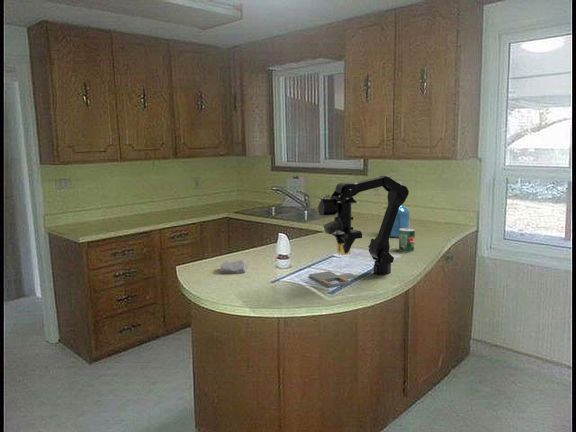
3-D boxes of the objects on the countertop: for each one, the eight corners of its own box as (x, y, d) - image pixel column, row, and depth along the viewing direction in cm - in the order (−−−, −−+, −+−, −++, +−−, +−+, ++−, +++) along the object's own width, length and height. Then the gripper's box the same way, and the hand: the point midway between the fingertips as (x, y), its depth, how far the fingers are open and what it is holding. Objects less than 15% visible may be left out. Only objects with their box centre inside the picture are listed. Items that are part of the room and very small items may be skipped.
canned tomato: (414, 252, 240) (415, 231, 238) (399, 251, 241) (399, 230, 239) (414, 248, 247) (414, 228, 245) (398, 248, 249) (399, 227, 247)
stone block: (246, 277, 207) (247, 267, 217) (245, 267, 206) (246, 257, 215) (219, 279, 207) (221, 268, 216) (218, 269, 205) (220, 259, 215)
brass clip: (345, 252, 195) (345, 242, 194) (350, 254, 191) (350, 244, 190) (336, 253, 193) (337, 243, 192) (341, 255, 189) (341, 245, 189)
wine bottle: (412, 238, 274) (413, 186, 269) (389, 238, 274) (389, 186, 269) (406, 233, 287) (407, 184, 283) (384, 233, 288) (385, 184, 283)
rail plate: (329, 275, 201) (329, 270, 200) (350, 286, 186) (350, 281, 185) (308, 278, 197) (308, 273, 196) (328, 290, 181) (328, 284, 181)
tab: (350, 275, 201) (350, 272, 201) (359, 279, 195) (359, 277, 194) (337, 277, 198) (337, 274, 198) (346, 281, 192) (346, 279, 192)
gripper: (315, 212, 195) (315, 249, 197) (338, 219, 178) (337, 259, 180) (339, 210, 199) (339, 246, 202) (363, 217, 182) (362, 256, 185)
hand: (343, 252), depth 192 cm, fingers closed on brass clip, 4 cm apart
